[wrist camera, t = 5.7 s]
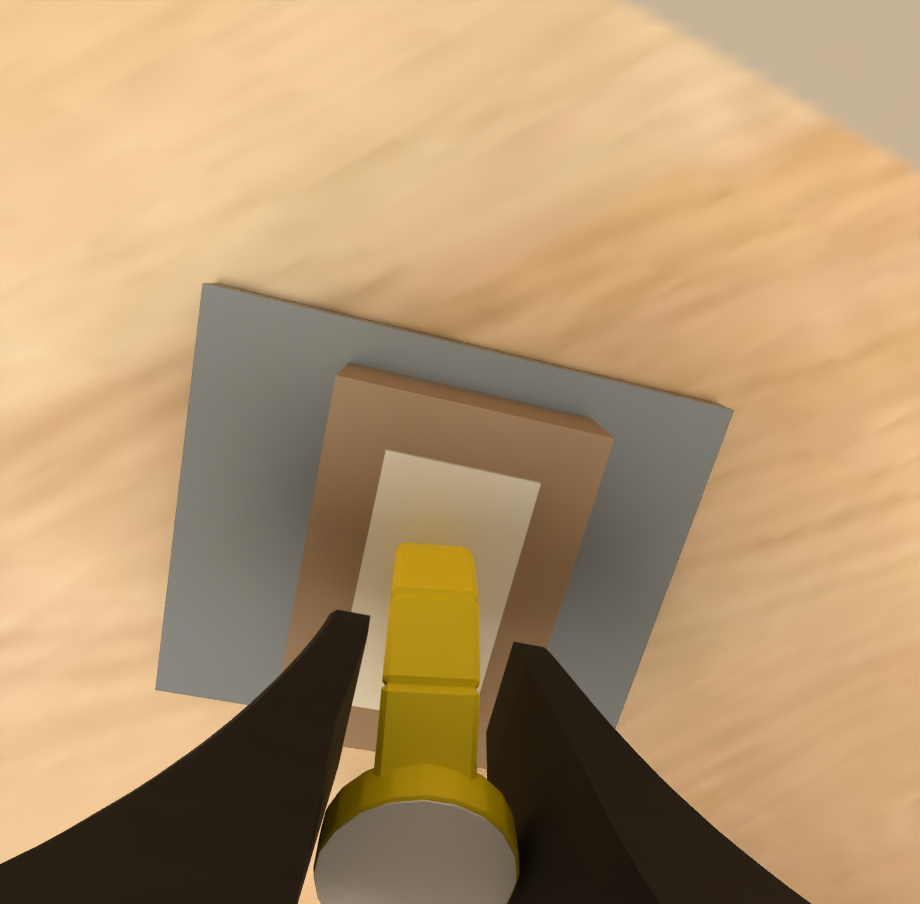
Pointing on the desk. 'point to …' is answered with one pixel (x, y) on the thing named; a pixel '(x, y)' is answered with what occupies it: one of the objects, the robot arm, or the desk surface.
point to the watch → (423, 759)
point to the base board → (417, 500)
